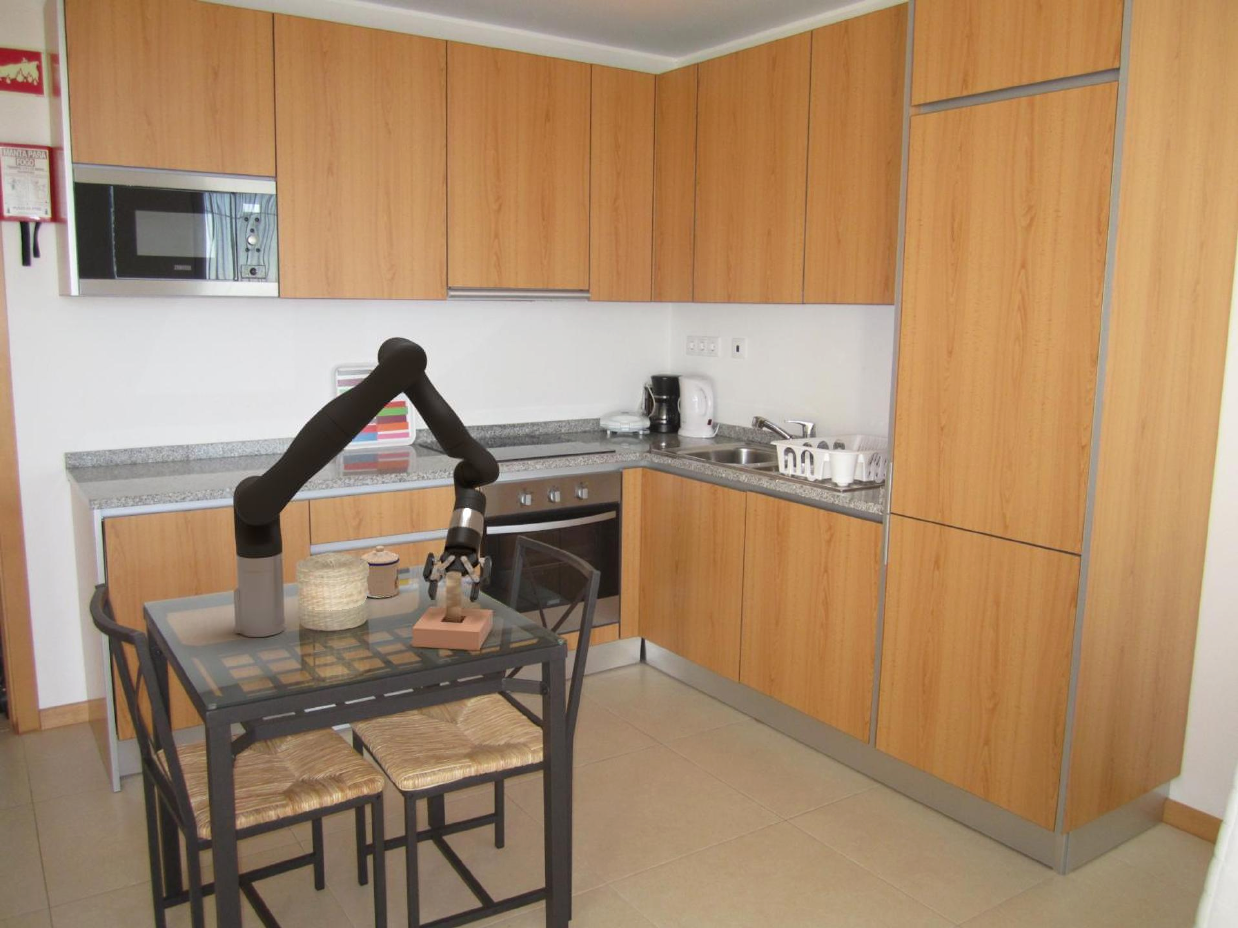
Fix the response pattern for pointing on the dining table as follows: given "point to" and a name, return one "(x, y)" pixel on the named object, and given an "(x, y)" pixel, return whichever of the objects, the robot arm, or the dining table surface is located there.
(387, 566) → the tan lidded jar
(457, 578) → the peg
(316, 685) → the dining table surface
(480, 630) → the socket block
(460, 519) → the robot arm
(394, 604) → the dining table surface
